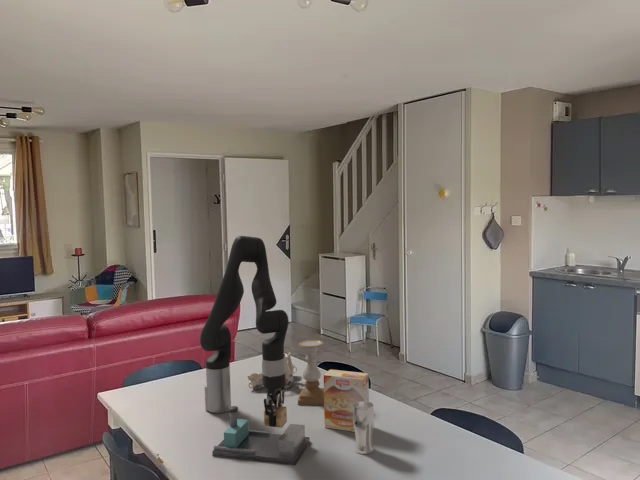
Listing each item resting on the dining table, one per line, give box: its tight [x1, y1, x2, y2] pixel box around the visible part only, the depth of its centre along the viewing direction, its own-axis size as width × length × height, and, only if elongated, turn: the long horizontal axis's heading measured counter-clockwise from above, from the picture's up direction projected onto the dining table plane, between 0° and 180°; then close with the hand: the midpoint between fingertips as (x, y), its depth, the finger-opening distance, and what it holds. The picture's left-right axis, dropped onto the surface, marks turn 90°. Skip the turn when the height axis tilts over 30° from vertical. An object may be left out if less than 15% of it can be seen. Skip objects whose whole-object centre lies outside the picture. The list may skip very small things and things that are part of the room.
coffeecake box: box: [323, 368, 370, 433], centre depth 184 cm, size 15×7×20 cm, turn 68°
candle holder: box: [297, 339, 324, 406], centre depth 210 cm, size 11×11×24 cm
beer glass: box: [353, 401, 375, 455], centre depth 167 cm, size 7×7×15 cm
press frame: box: [211, 423, 311, 466], centre depth 170 cm, size 28×16×6 cm, turn 75°
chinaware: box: [246, 351, 298, 390], centre depth 231 cm, size 28×17×17 cm, turn 144°
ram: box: [223, 405, 250, 448], centre depth 172 cm, size 5×11×11 cm, turn 165°
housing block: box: [263, 405, 288, 429], centre depth 168 cm, size 6×5×5 cm
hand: (275, 422), depth 168 cm, fingers closed on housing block, 5 cm apart
